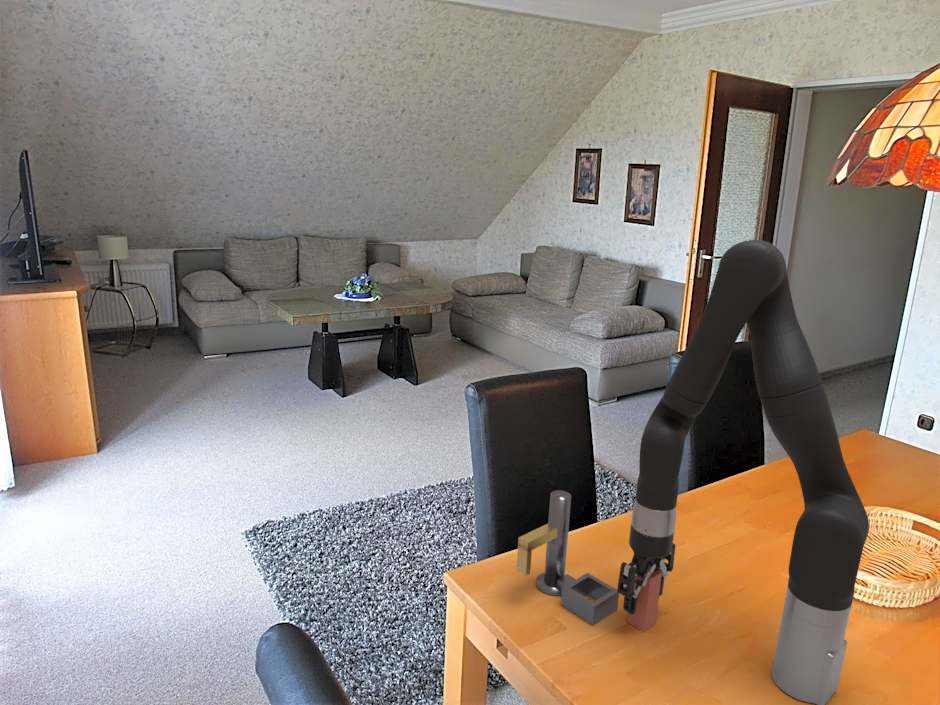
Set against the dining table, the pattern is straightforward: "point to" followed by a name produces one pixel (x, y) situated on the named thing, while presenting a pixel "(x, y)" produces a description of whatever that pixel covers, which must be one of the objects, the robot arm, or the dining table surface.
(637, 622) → the red rectangular block
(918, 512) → the dining table surface
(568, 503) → the grey stand
